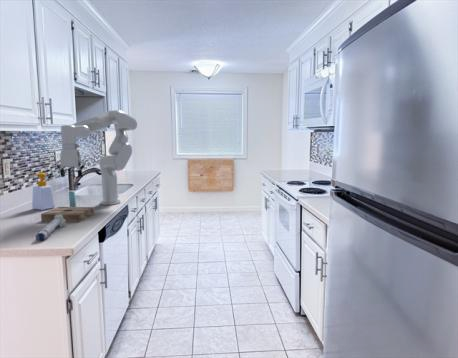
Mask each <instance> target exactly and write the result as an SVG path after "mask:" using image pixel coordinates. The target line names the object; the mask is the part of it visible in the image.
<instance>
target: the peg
mask: <svg viewBox="0 0 458 358" xmlns="http://www.w3.org/2000/svg"><path fill="white" fill-rule="evenodd" d="M68 197H69V200H68V201H69V207H77V203H76V191H75V190H69V191H68Z"/></svg>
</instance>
